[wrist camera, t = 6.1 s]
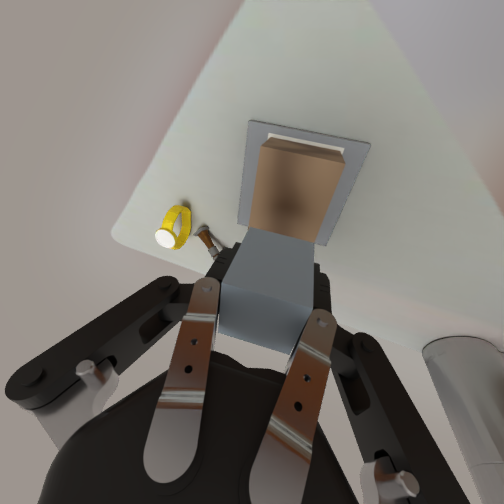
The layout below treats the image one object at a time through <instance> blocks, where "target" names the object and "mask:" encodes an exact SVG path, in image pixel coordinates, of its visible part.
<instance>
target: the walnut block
mask: <svg viewBox="0 0 504 504" xmlns="http://www.w3.org/2000/svg"><path fill="white" fill-rule="evenodd" d="M345 164H346V163H345V161H344V159H343V156H342V154H341V152H340V151H338V150H333V149H328V148H323V147H318V146H313V145H308V144H303V143H298V142H293V141H289V140H284V139H279V138H274V137H270V138H269V139H268V140H267V141H266V142H264V143H263V144H262V145H261V146H260V153H259V159H258V166H257V173H256V179H255V186H254V193H253V199H252V206H251V213H250V220H249V226H248V230H249V228H250V227H253V228H257V229H261V230H265V231H269V232H273V233H277V234H281V235H285V236H289V237H293V238H297V239H301V240H305V241H309V242H313V243H314V242H315V240H316V237H317V235H318V232H319V230H320V227H321V224H322V222H323V219H324V217H325V214H326V212H327V209H328V207H329V204H330V202H331V199H332V197H333V194H334V192H335V189H336V187H337V184H338V182H339V179H340V177H341V174H342V172H343V169H344V167H345Z"/></svg>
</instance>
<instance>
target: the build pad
mask: <svg viewBox="0 0 504 504" xmlns="http://www.w3.org/2000/svg"><path fill="white" fill-rule="evenodd" d="M270 137H274V138H279V139H284V140H289V141H293V142H298V143H303V144H308V145H313V146H318V147H323V148H328V149H333V150H338V151H340V152H341V154H342V156H343V159H344V161H345V163H346V164H345V167H344V169H343V172H342V174H341V177H340V179H339V182H338V184H337V187H336V189H335V192H334V194H333V197H332V199H331V202H330V204H329V207H328V209H327V212H326V214H325V217H324V219H323V222H322V224H321V227H320V230H319V232H318V235H317V237H316V240H315V242H314V243H315V244H319V245H323V246H326V245H327V243H328V241H329V238H330V236H331V234H332V232H333V229H334V227H335V225H336V223H337V220H338V218H339V216H340V214H341V211H342V209H343V207H344V205H345V202H346V200H347V198H348V196H349V193H350V191H351V189H352V187H353V185H354V182H355V180H356V178H357V176H358V173H359V171H360V169H361V167H362V164H363V162H364V160H365V158H366V155H367V153H368V151H369V149H370V146H371V144H370V143H366V142H361V141H356V140H351V139H346V138H341V137H336V136H331V135H326V134H320V133H315V132H310V131H305V130H300V129H295V128H290V127H285V126H280V125H275V124H270V123H264V122H259V121H254V120H249V122H248V131H247V140H246V149H245V158H244V167H243V176H242V186H241V195H240V204H239V213H238V222H237V224H240V225H244V226H249V220H250V213H251V206H252V199H253V193H254V186H255V179H256V173H257V166H258V159H259V153H260V146H261V145H262V144H263V143H264V142H266V141H267V140H268V139H269V138H270Z"/></svg>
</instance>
